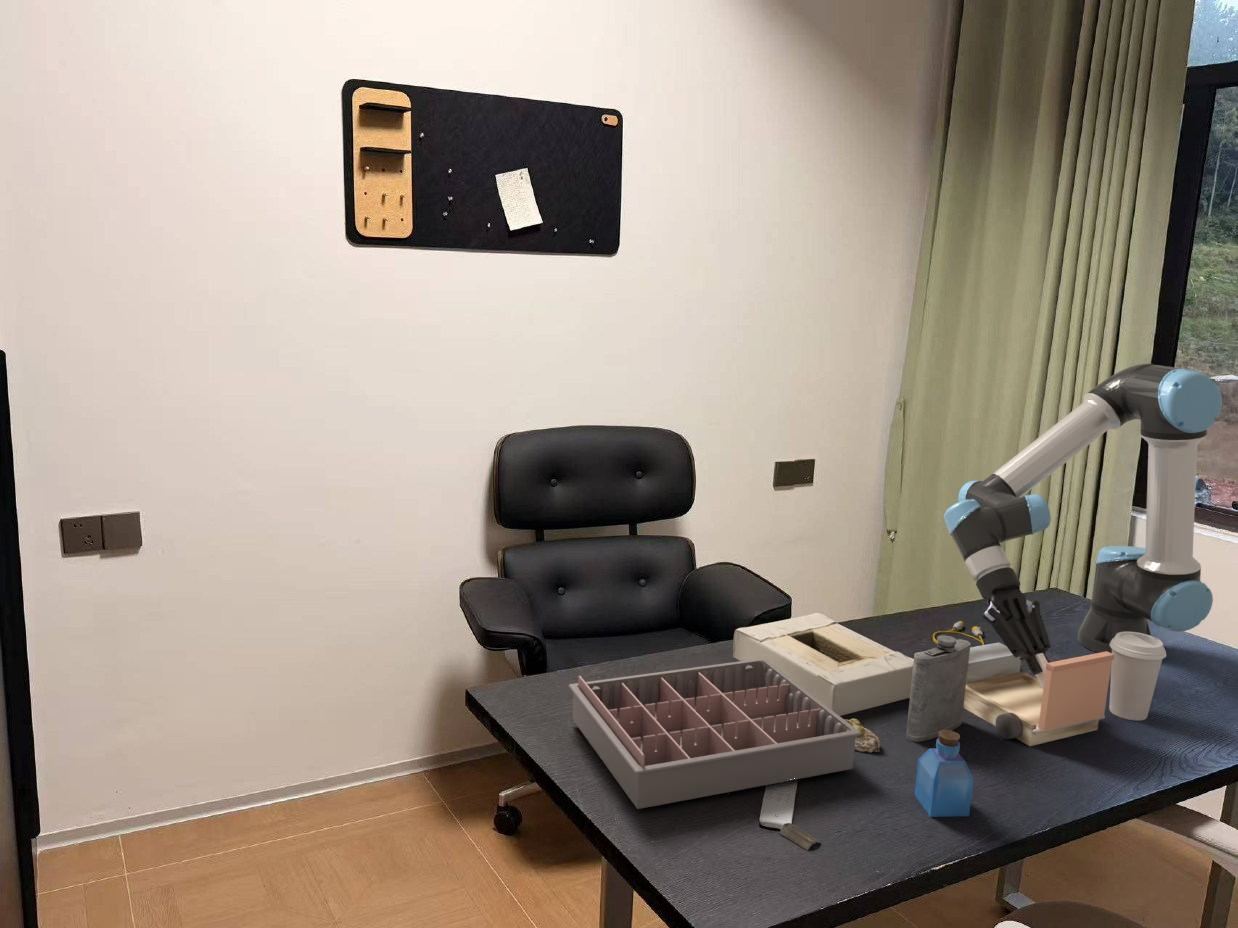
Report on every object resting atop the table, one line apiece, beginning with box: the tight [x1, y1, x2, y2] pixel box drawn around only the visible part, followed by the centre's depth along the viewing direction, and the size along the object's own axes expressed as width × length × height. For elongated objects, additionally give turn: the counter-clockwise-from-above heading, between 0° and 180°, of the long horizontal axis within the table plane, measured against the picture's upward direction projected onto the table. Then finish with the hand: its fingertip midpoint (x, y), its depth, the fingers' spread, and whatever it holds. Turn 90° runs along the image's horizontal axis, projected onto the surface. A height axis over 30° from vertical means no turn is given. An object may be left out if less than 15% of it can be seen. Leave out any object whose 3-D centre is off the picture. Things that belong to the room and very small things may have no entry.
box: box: [732, 612, 914, 717], centre depth 199 cm, size 23×8×32 cm
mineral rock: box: [840, 716, 882, 753], centre depth 172 cm, size 11×4×8 cm
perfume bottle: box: [914, 730, 974, 818], centre depth 151 cm, size 6×6×12 cm
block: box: [779, 822, 822, 852], centre depth 143 cm, size 4×6×2 cm, turn 40°
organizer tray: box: [568, 658, 862, 810], centre depth 166 cm, size 32×40×10 cm
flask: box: [905, 635, 972, 743], centre depth 175 cm, size 4×14×18 cm, turn 126°
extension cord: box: [932, 620, 986, 645], centre depth 221 cm, size 12×16×2 cm
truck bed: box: [963, 642, 1100, 747], centre depth 186 cm, size 24×21×8 cm
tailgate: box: [1032, 651, 1114, 735], centre depth 173 cm, size 2×17×13 cm, turn 115°
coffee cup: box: [1109, 632, 1167, 722], centre depth 185 cm, size 10×10×15 cm
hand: (1052, 689), depth 178 cm, fingers closed
